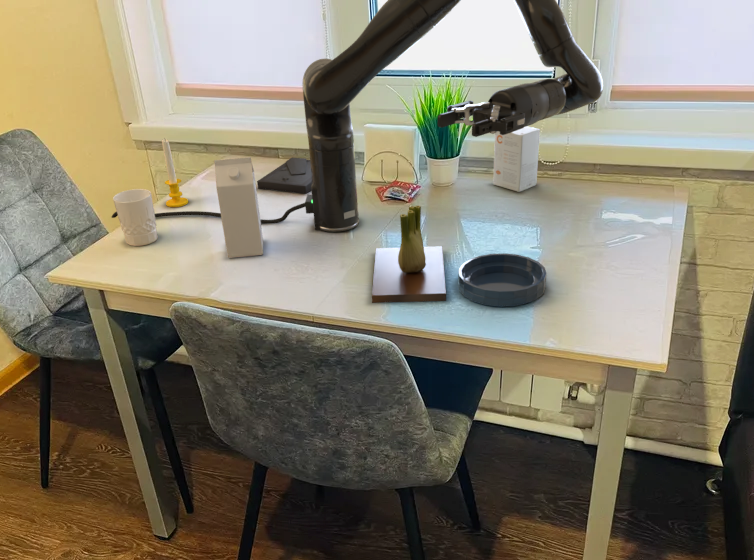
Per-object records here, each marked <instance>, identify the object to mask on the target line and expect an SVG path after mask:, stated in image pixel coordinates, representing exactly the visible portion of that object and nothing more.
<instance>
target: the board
mask: <svg viewBox="0 0 754 560" xmlns="http://www.w3.org/2000/svg"><path fill="white" fill-rule="evenodd" d="M423 248H424V253H425V258H426V261H425V263H426V266H425V268H424V269H423V270H422V271H420V272H413V273H412V272H411V273H404V272H403V271H402V270H401V269H400V266H399V263H398V256H399V250H400V247H376V248H375V253H374V254H375V255H374V264H373V265H374V266H373V276H372V286H371V287H372V288H371V303H372V304H376V303H377V304H379V303H381V304H382V303H384V304H385V303H415V302H423V303H424V302H446V301H447V288H446V278H445V277H446V275H445V274H446V273H445V262H444V252H443V251H444V250H443V245H437V246H435V245H434V246H423Z"/></svg>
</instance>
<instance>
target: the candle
mask: <svg viewBox="0 0 754 560" xmlns="http://www.w3.org/2000/svg"><path fill="white" fill-rule="evenodd" d="M161 144H162V151H163V156H164V160H165V166H166V171H167V177H168V179H167V180H165V181H164V184H165V185H168V187H169V193H168V198H169V199H168V200H167V201H166V202H165V205H166V206H167V207H168V208H180V207H184V206H186V205H188V204H189V199H188V198H186V197H182V196H183V191H180V186H179V184H180V183H182V179H181V178H177V175H176V171H175V165H174V160H173V155H172V150H171V145H170V141H169V140H168V139H166V138H163V139H162V140H161Z"/></svg>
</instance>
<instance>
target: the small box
mask: <svg viewBox="0 0 754 560" xmlns="http://www.w3.org/2000/svg"><path fill="white" fill-rule="evenodd" d="M540 134H541V129H540V128H537V127H532V126H526V127H524V128H522V129H519V130H516V131H514V132H511V133H508V134H505V135H501V134H500V132H499V131H498V132H497V133H494V147H493V148H494V151H493V153H494V154H493V175H492V177H493V178H492V184H493V185H494V186H497V187H500V188H503V189H504V188H505V189H507V190H510V191H514V192H516V193H517V192H518V193H520V192H523V191H526V190H528V189H530V188H532V187H535V186H537V183H538V182H537V181H538V180H537V179H538V168H539V167H538V166H539V154H540V153H539V152H540V151H539V150H540V137H541V135H540Z"/></svg>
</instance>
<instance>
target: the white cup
mask: <svg viewBox="0 0 754 560" xmlns="http://www.w3.org/2000/svg"><path fill="white" fill-rule="evenodd" d="M112 201H113V204H114V207H115V210H116V211H115V212H117V214H118V216H117V218H118V221H119V224H120V228H121V230H122V233H123V236H124V240H125V243H126V244H127V245H129V246H133V247H143V246H146V245H147V246H148V245H150V244H152V243H154V242H156V241H157V240H158V238H159V237H158V231H157V222H156V219H157V218H156V217H155V214H156V213H155V207H154V206H155V205H154V202H153V196H152V191H150V190H149V189H145V188H133V189H127V190H123V191H120V192H117V193H116V194H115V195H113V197H112Z"/></svg>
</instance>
